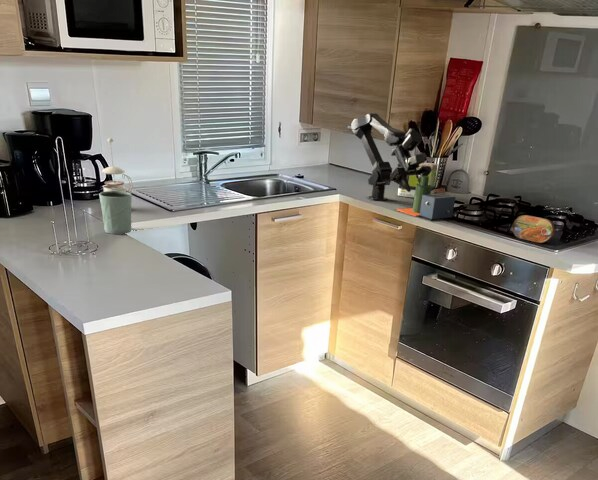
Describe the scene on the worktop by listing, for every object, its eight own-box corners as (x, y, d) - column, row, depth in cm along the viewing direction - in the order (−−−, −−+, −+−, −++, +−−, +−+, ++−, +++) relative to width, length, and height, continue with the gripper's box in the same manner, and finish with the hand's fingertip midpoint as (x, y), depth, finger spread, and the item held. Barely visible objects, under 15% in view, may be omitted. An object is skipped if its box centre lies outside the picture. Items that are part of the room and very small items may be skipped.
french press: (98, 207, 229) (91, 136, 216) (127, 205, 235) (121, 135, 223) (110, 213, 222) (103, 140, 210) (139, 210, 229) (133, 139, 217)
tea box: (433, 196, 283) (438, 163, 275) (428, 200, 275) (433, 166, 267) (402, 192, 288) (407, 159, 280) (396, 196, 280) (401, 162, 272)
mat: (396, 210, 252) (396, 209, 252) (421, 207, 259) (421, 207, 259) (415, 216, 244) (415, 215, 244) (440, 214, 251) (440, 213, 250)
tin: (510, 236, 223) (515, 213, 219) (514, 235, 225) (519, 212, 221) (548, 245, 214) (554, 221, 210) (552, 244, 216) (558, 220, 212)
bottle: (414, 209, 254) (419, 174, 247) (428, 211, 252) (434, 176, 245) (410, 211, 249) (415, 176, 242) (425, 214, 247) (431, 178, 240)
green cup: (98, 229, 202) (94, 191, 196) (127, 225, 208) (123, 189, 202) (110, 236, 195) (106, 198, 189) (139, 232, 201) (136, 195, 195)
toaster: (417, 216, 244) (420, 194, 239) (439, 214, 250) (443, 192, 245) (431, 221, 238) (434, 198, 234) (453, 218, 244) (457, 196, 240)
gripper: (398, 146, 240) (412, 180, 237) (432, 145, 249) (446, 178, 246) (383, 163, 249) (396, 196, 247) (417, 162, 259) (430, 194, 256)
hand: (418, 190), depth 249 cm, fingers open, 9 cm apart
